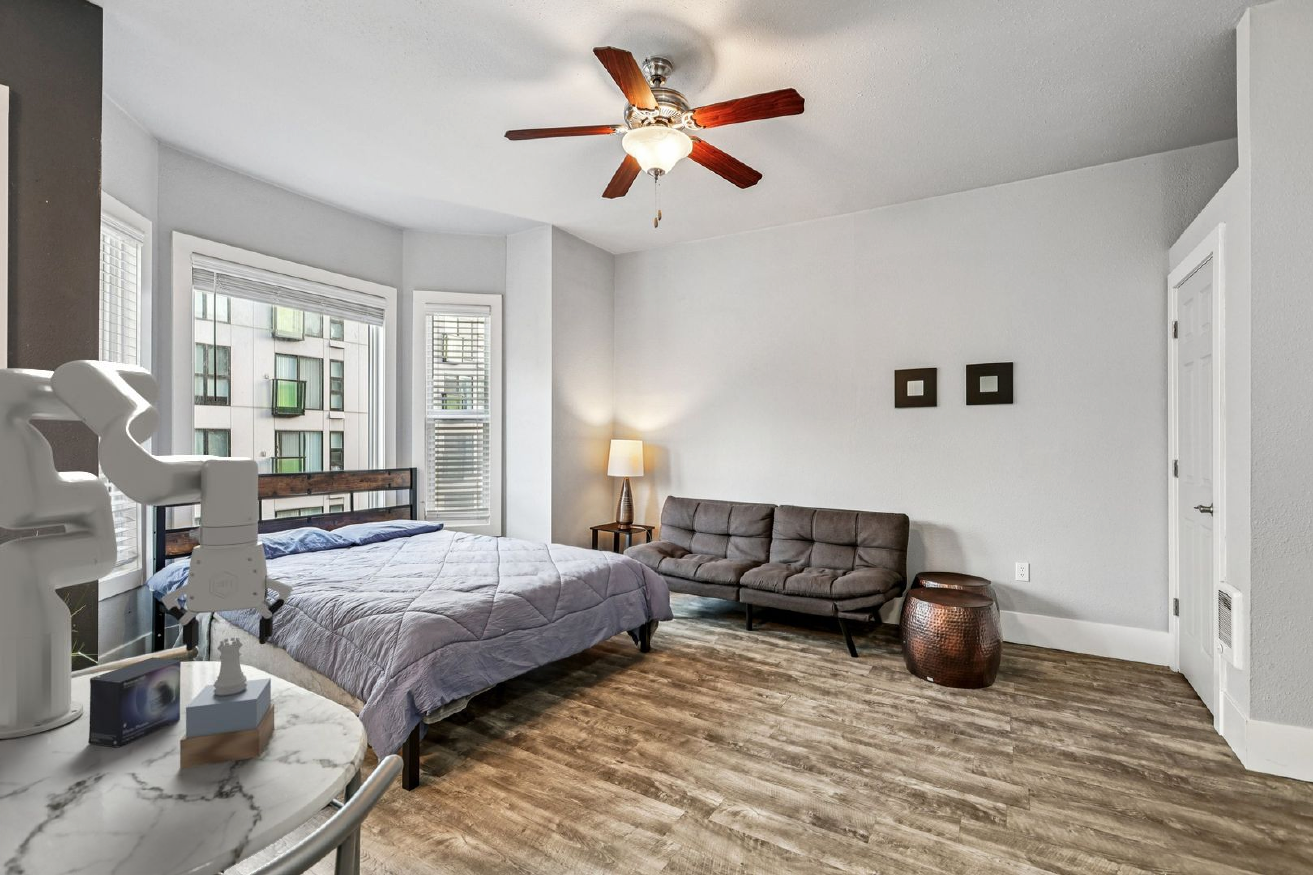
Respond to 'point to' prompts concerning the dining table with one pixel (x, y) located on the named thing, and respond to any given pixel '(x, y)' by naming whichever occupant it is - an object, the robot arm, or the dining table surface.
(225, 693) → the rook chess piece
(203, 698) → the slate-blue block
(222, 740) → the walnut block
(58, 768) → the dining table surface
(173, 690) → the small box
